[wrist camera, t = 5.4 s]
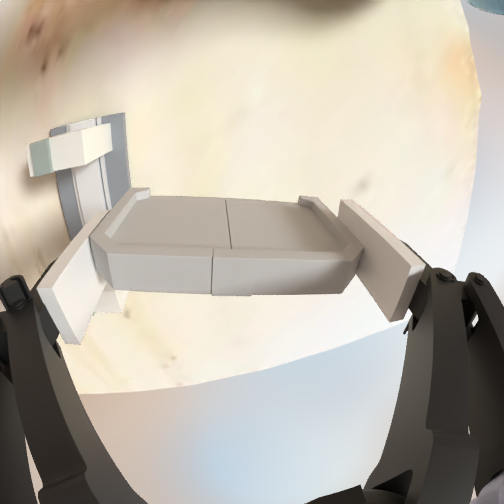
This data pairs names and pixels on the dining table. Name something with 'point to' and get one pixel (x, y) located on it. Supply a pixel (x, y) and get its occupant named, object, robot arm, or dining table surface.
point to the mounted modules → (72, 155)
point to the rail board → (94, 176)
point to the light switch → (224, 246)
